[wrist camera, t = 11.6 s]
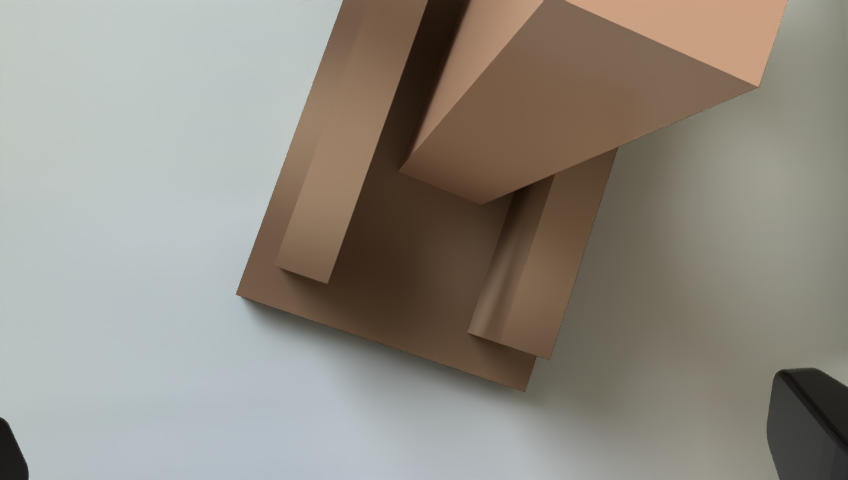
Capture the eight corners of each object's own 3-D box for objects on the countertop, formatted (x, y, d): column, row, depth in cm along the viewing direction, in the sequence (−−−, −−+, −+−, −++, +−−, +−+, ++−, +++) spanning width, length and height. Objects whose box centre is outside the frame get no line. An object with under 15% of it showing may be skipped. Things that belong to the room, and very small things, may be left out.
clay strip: (481, 204, 21) (758, 86, 8) (397, 171, 21) (549, -7, 8) (544, 36, 21) (900, -326, 9) (463, 1, 21) (708, -428, 8)
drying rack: (514, 387, 22) (622, 441, 14) (239, 293, 21) (202, 301, 13) (662, -66, 23) (829, -228, 16) (409, -174, 22) (462, -401, 15)
